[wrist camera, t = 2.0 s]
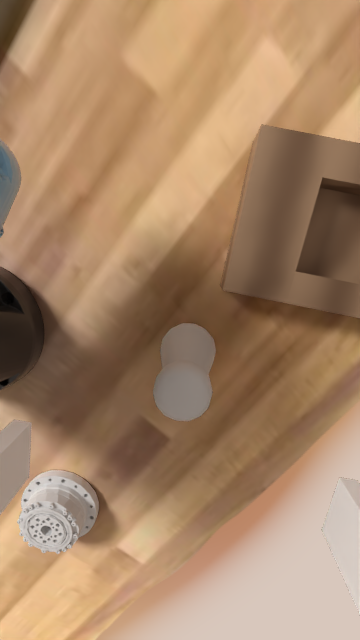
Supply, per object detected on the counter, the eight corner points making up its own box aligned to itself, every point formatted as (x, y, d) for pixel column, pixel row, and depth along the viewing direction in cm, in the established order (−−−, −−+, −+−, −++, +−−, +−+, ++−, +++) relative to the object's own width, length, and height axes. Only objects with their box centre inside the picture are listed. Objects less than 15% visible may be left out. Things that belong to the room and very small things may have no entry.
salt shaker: (224, 348, 32) (241, 407, 20) (185, 377, 34) (176, 451, 21) (192, 307, 32) (188, 343, 19) (152, 338, 33) (123, 391, 20)
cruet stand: (220, 285, 31) (223, 290, 27) (252, 142, 28) (261, 124, 24) (406, 323, 31) (436, 334, 27) (460, 183, 27) (504, 171, 23)
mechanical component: (114, 513, 39) (71, 456, 37) (103, 545, 34) (54, 482, 33) (56, 540, 40) (12, 487, 39) (39, 574, 36) (-11, 515, 35)
